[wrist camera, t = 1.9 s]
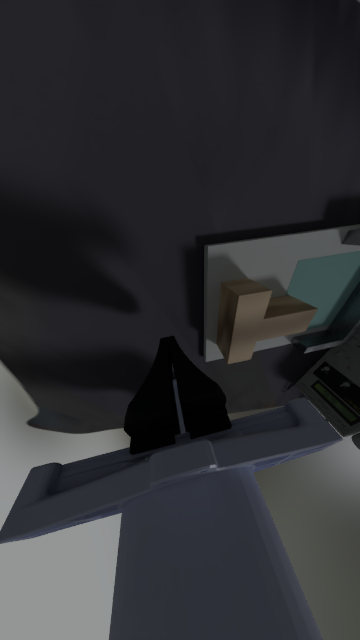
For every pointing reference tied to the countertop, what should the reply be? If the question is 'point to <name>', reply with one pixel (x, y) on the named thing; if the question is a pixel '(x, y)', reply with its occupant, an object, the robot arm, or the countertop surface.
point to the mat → (283, 276)
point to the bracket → (345, 324)
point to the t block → (256, 317)
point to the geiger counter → (337, 387)
